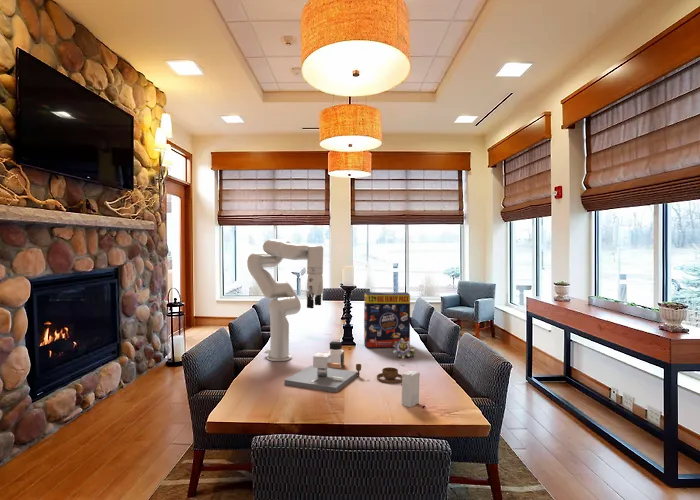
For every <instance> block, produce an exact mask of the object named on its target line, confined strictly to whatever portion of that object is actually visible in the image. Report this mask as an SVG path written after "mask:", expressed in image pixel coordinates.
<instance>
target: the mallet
mask: <svg viewBox="0 0 700 500" xmlns="http://www.w3.org/2000/svg"><path fill="white" fill-rule="evenodd" d="M331 356H332V354H331V353H328V352H317V353H315V354H314V355H313V356H312V366H313V367H314V368H326V369H327V368H330V367H333V369H341V368H342V367H341V363H331ZM340 367H341V368H340Z"/></svg>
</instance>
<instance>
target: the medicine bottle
mask: <svg viewBox="0 0 700 500" xmlns="http://www.w3.org/2000/svg"><path fill="white" fill-rule="evenodd" d="M342 343H343V342H342V341H340V340H339V341H338V340H332V341H330V342H329V351H328V352H327V353H331V354H332V356H331V363H341V367H340V368H339V369H342V367H343V366H344V364H345V350H343V349H342V348H343V344H342ZM329 368H333V367H329ZM333 369H334V368H333Z"/></svg>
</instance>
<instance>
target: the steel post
mask: <svg viewBox="0 0 700 500" xmlns="http://www.w3.org/2000/svg"><path fill="white" fill-rule="evenodd" d="M317 376H318V377H327V369H326V368H317Z"/></svg>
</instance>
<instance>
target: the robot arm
mask: <svg viewBox="0 0 700 500" xmlns="http://www.w3.org/2000/svg"><path fill="white" fill-rule="evenodd" d="M262 250H263V251H256V252H254V253H251V254H249V255H248V258H247V261H246V264H247V269H248V272H249V274H250V275H251V276H252V278H253V279H254V281H255V282H256V284H257V285H258V288H259V289H260V291H261V293H262V294H263V296H264V298H265V299H266V300H269V301H270V302H269V303H268V313H269V320H270V321H269V322H270V327H269V329H270V340H269V341H270V345H269V346H270V348H265V349H264V354H268V355H267V357H266V358H267V360H269V361H271V362H285V361H290V360H291V359H292V358H293V356H292V355H291V354H290V351H289V350H290V322H289V321H288V318H287V317H286V316H291V315H296V314H298V313H299V312H300V311H301V308H302V307H301V302H300V299H299V297H298V296H297V294H296V292H295V291H294V289H293V287H292V285H291V284H290V283H289V282H287V281H286V280H285V281H284V280H280V281H278V280H277V281H276V280H275V279H274V278H273V276H272V274H271V273H270V272H269V271H267V270H266V269H265V268H275V267H277V266H278V265H280V263H281V262H282V261H283V260H284V259H285V260H286V259H287V260H293V261H300V260H301V261H302V260H304V261H305V260H306V262H307V265H306V266H307V267H306V275H307V281H306V308H307V309H314V305H315V306H321V305H322V294H323V293H324V278H323V273H324V271H323V270H324V246H323V245H317V244H306V243H305V244H303V243H302V244H301V243H300V244H297V243H295V244H294V243H293V244H292V243H291V242H290V241H287V240H286V239H281V238H279V239H278V238H277V239H276V238H270V239H267V240H265V241H264V243H263V244H262Z"/></svg>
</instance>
